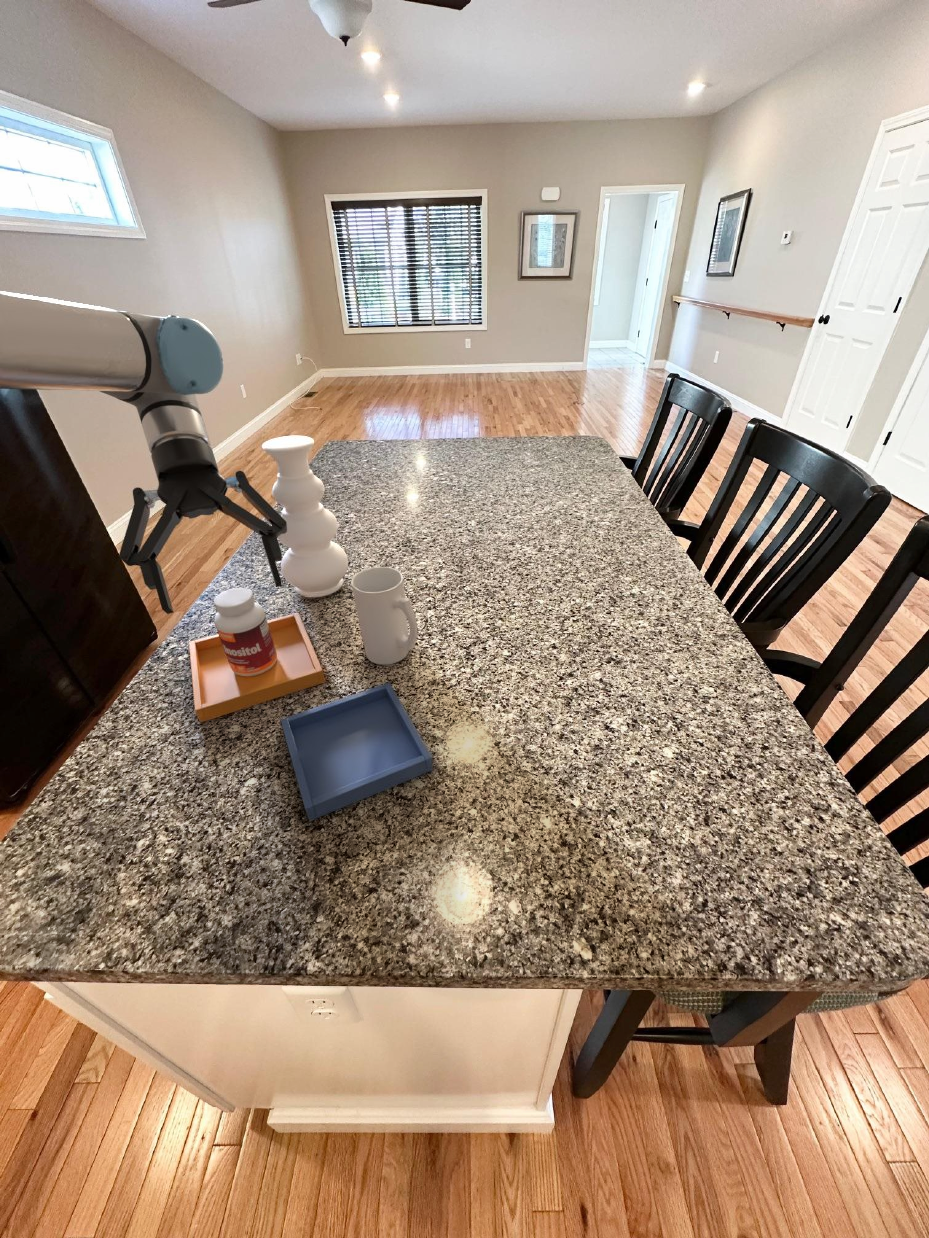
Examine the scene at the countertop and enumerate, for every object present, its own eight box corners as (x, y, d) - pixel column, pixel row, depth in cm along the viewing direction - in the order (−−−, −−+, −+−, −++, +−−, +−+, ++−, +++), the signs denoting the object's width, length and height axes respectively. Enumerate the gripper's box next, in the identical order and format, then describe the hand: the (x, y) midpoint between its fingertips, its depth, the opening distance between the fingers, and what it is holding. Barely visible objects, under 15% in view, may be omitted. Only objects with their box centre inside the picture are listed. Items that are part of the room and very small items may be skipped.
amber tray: (200, 722, 63) (194, 710, 62) (193, 653, 75) (188, 641, 73) (325, 682, 69) (322, 670, 67) (301, 623, 80) (298, 612, 79)
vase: (312, 568, 95) (280, 428, 80) (363, 577, 91) (340, 433, 77) (274, 598, 86) (231, 448, 72) (329, 610, 83) (296, 455, 69)
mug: (354, 653, 73) (340, 581, 67) (389, 631, 78) (379, 561, 71) (402, 683, 68) (392, 608, 61) (437, 658, 72) (431, 585, 65)
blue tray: (309, 821, 51) (305, 808, 50) (284, 731, 61) (280, 719, 60) (433, 769, 56) (432, 757, 55) (391, 694, 66) (389, 682, 65)
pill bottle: (225, 679, 69) (198, 611, 62) (239, 651, 74) (215, 585, 67) (272, 676, 69) (250, 608, 63) (282, 648, 74) (263, 582, 68)
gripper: (277, 451, 77) (319, 581, 75) (86, 480, 68) (126, 629, 66) (274, 422, 70) (321, 564, 68) (61, 451, 62) (105, 616, 59)
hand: (225, 597), depth 67 cm, fingers open, 13 cm apart
